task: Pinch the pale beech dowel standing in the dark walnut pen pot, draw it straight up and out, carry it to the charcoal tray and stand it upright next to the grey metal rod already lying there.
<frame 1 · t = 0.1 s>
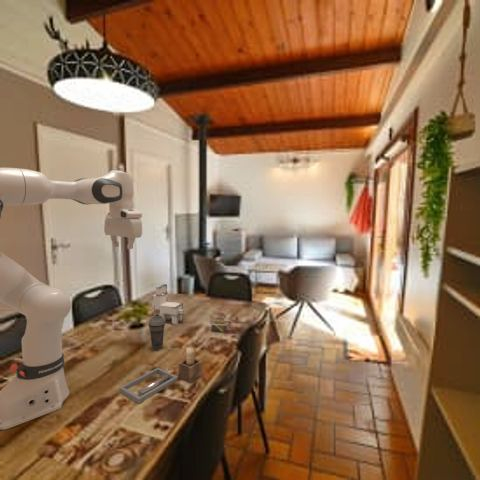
hand: (122, 247, 125), 48 cm above the table, fingers open, 8 cm apart
metal rod: (154, 388, 111), point 1 cm above the table, touching tray
pen pot: (190, 378, 118), on the table
toy llama: (169, 321, 176), on the table
platform: (218, 332, 163), on the table
beverage cup: (157, 348, 143), on the table
tray: (149, 387, 112), on the table
dowel: (190, 376, 118), point 1 cm above the table, touching pen pot
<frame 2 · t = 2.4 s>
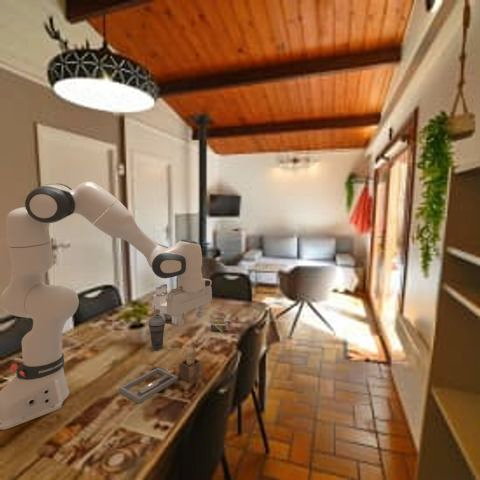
hand: (190, 320, 116), 23 cm above the table, fingers open, 8 cm apart
metal rod: (154, 388, 111), point 1 cm above the table, tilted 15°, touching tray
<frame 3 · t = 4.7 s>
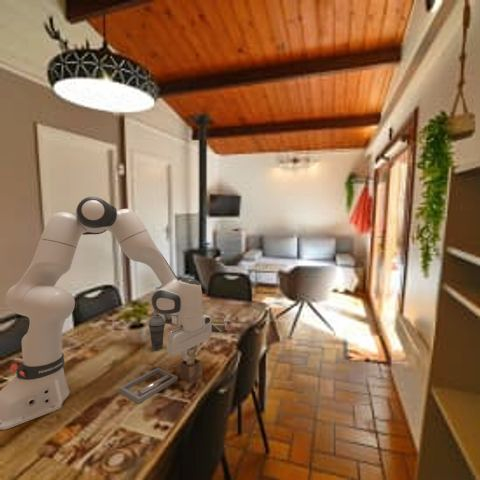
hand: (190, 357, 117), 8 cm above the table, fingers closed on dowel, 3 cm apart
metal rod: (154, 388, 111), point 1 cm above the table, touching tray
dowel: (190, 376, 118), point 1 cm above the table, touching gripper, pen pot
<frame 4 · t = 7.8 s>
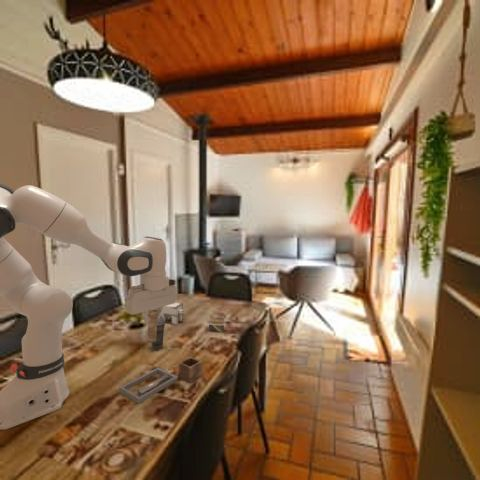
hand: (152, 320, 112), 24 cm above the table, fingers closed on dowel, 3 cm apart
metal rod: (154, 388, 111), point 1 cm above the table, tilted 15°, touching tray
dowel: (152, 341, 113), point 16 cm above the table, touching gripper
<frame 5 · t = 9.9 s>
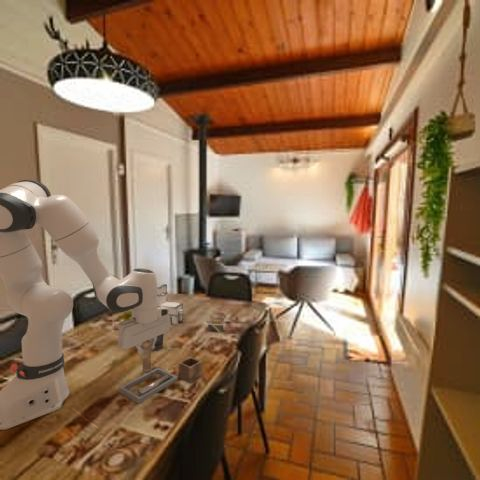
hand: (146, 351, 112), 13 cm above the table, fingers closed on dowel, 3 cm apart
metal rod: (154, 388, 111), point 1 cm above the table, touching tray
dowel: (147, 370, 113), point 6 cm above the table, touching gripper
when the fingers open (9 cm above the table, at t = 11.2 s): dowel drops 1 cm, resting on tray.
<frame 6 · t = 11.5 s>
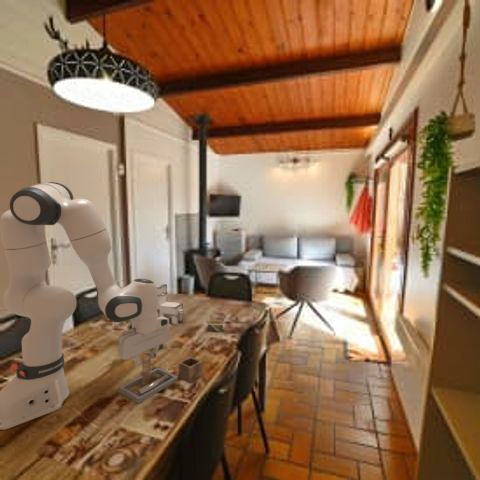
hand: (145, 361, 112), 9 cm above the table, fingers open, 5 cm apart
metal rod: (154, 388, 111), point 1 cm above the table, tilted 9°, touching tray
dowel: (146, 384, 113), point 1 cm above the table, touching tray
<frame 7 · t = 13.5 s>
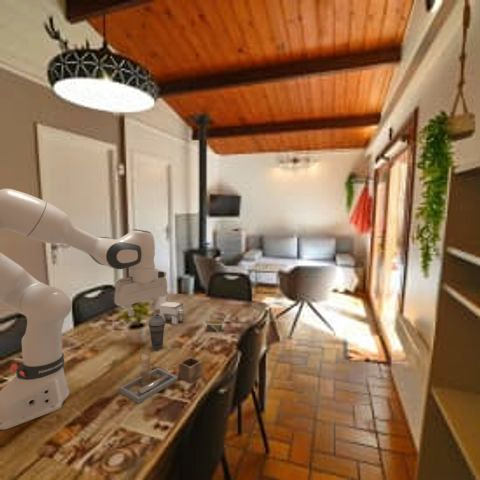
hand: (142, 312, 113), 26 cm above the table, fingers open, 8 cm apart
metal rod: (154, 388, 111), point 1 cm above the table, tilted 14°, touching tray
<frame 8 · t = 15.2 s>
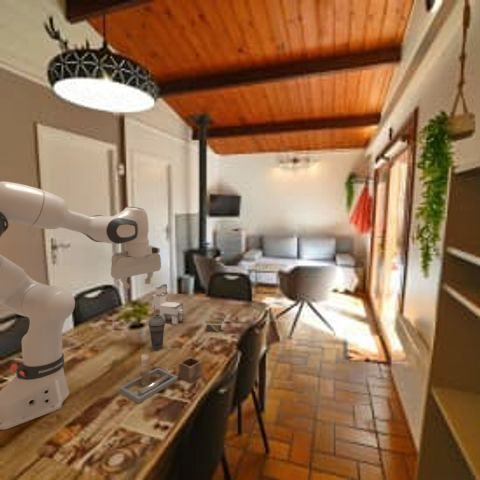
hand: (137, 286, 120), 34 cm above the table, fingers open, 8 cm apart
metal rod: (154, 388, 111), point 1 cm above the table, touching tray
at the end: dowel inside the target area on the tray (1.9 cm from its centre), point 0.6 cm above the tray's base; dowel tilted 0°; the gripper is holding nothing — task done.
